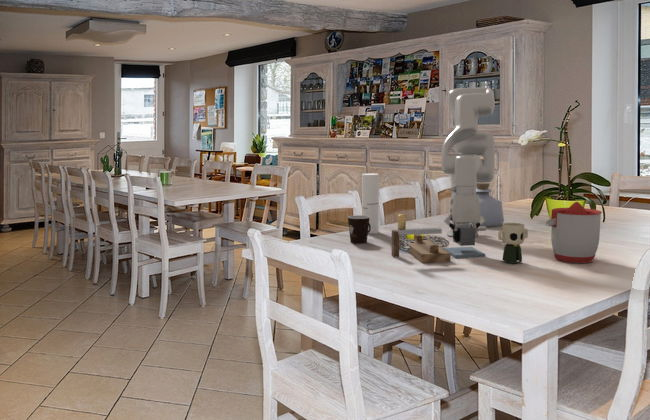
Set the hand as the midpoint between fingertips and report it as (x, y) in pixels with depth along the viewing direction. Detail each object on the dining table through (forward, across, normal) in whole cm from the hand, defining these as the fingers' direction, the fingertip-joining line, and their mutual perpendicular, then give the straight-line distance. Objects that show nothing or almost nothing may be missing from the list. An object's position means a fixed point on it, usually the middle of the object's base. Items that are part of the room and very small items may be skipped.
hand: (463, 240), depth 219 cm
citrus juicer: (+5, +32, -16) cm, 36 cm away
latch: (-5, -19, -8) cm, 21 cm away
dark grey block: (+1, 0, 0) cm, 1 cm away
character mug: (+5, +11, -16) cm, 20 cm away
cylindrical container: (+5, -24, +48) cm, 54 cm away
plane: (+5, -17, 0) cm, 18 cm away
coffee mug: (+5, -33, +26) cm, 42 cm away
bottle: (+5, +31, +61) cm, 69 cm away
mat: (+5, 0, 0) cm, 5 cm away
